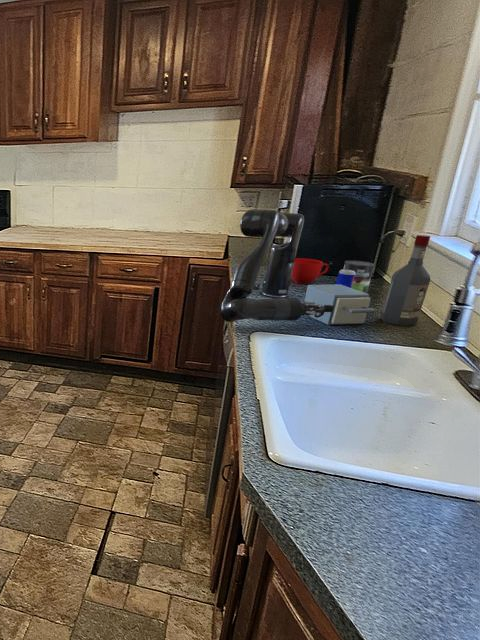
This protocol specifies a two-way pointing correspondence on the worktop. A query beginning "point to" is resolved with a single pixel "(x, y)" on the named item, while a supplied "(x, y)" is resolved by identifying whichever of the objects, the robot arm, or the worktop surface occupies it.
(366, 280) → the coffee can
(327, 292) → the cabinet
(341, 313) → the drawer
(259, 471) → the worktop surface
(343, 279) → the beverage can
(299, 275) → the ceramic cup
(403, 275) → the liquor
